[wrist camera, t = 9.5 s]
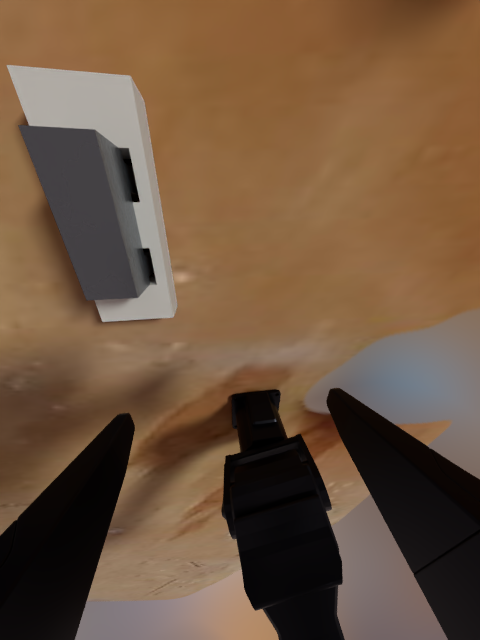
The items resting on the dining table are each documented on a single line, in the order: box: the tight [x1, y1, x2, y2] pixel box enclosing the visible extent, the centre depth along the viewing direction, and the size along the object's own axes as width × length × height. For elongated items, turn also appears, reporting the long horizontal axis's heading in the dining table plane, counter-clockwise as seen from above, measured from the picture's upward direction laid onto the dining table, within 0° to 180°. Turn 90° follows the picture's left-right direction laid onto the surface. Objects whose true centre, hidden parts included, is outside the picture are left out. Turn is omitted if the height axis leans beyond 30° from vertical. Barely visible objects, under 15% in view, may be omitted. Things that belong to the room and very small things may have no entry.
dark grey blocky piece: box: [18, 125, 154, 300], centre depth 13 cm, size 8×3×5 cm, turn 0°
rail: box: [7, 65, 178, 322], centre depth 14 cm, size 14×6×2 cm, turn 0°
